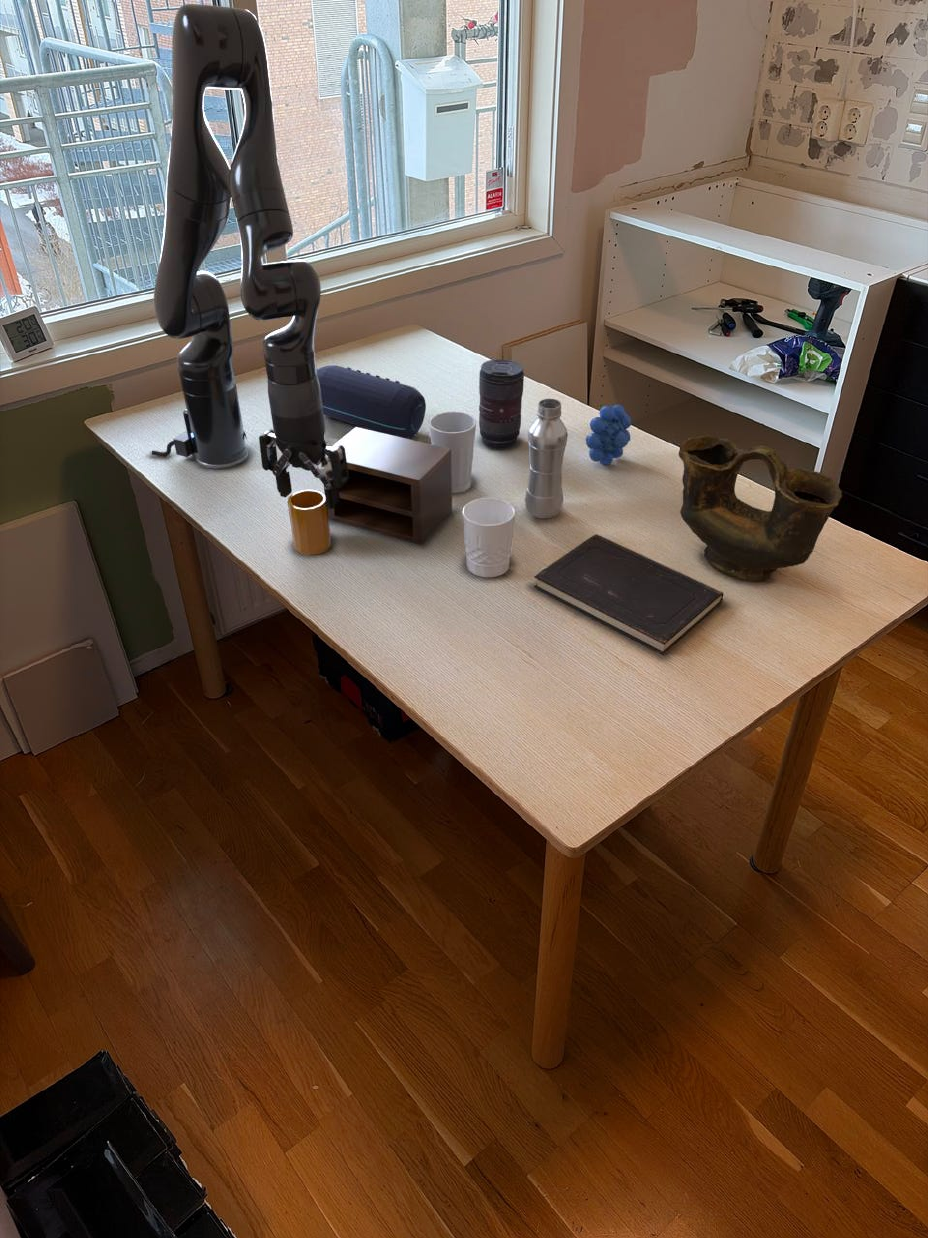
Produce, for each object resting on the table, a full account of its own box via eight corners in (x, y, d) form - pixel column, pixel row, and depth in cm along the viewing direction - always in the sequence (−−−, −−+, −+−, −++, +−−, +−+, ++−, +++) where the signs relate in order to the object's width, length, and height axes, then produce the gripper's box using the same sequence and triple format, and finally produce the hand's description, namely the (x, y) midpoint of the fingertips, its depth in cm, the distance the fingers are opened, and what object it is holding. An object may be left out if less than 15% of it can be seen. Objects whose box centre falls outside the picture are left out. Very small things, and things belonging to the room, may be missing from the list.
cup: (471, 497, 160) (471, 435, 153) (426, 492, 162) (424, 430, 154) (479, 474, 166) (480, 413, 159) (436, 470, 168) (434, 409, 160)
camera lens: (521, 451, 173) (524, 376, 164) (478, 451, 173) (479, 375, 164) (520, 431, 179) (523, 357, 170) (478, 430, 179) (479, 357, 170)
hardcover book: (662, 655, 128) (664, 642, 126) (533, 587, 140) (534, 575, 138) (722, 603, 137) (724, 590, 135) (596, 543, 149) (597, 531, 148)
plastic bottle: (567, 507, 158) (576, 398, 145) (554, 527, 153) (561, 416, 140) (532, 498, 160) (538, 391, 147) (518, 518, 155) (522, 408, 142)
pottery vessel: (651, 546, 148) (667, 435, 136) (686, 519, 155) (705, 410, 142) (797, 610, 136) (830, 493, 123) (828, 576, 142) (863, 462, 129)
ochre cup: (286, 549, 148) (280, 504, 143) (307, 530, 152) (301, 486, 147) (317, 558, 146) (312, 513, 141) (338, 539, 150) (333, 494, 145)
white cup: (477, 585, 140) (478, 530, 134) (454, 559, 146) (453, 505, 140) (522, 571, 143) (524, 516, 137) (497, 546, 149) (499, 492, 142)
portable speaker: (436, 430, 180) (434, 382, 173) (406, 451, 173) (404, 402, 167) (334, 400, 190) (330, 353, 184) (303, 418, 184) (297, 371, 177)
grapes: (603, 484, 164) (609, 422, 156) (574, 470, 167) (579, 409, 160) (644, 461, 170) (652, 401, 162) (615, 448, 174) (622, 389, 166)
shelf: (327, 518, 155) (319, 455, 148) (360, 488, 163) (355, 426, 155) (421, 545, 149) (419, 480, 141) (452, 512, 157) (451, 448, 149)
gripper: (351, 402, 134) (360, 498, 144) (270, 385, 139) (284, 480, 149) (323, 424, 129) (335, 522, 139) (240, 405, 134) (257, 502, 144)
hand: (309, 500), depth 144 cm, fingers open, 8 cm apart
